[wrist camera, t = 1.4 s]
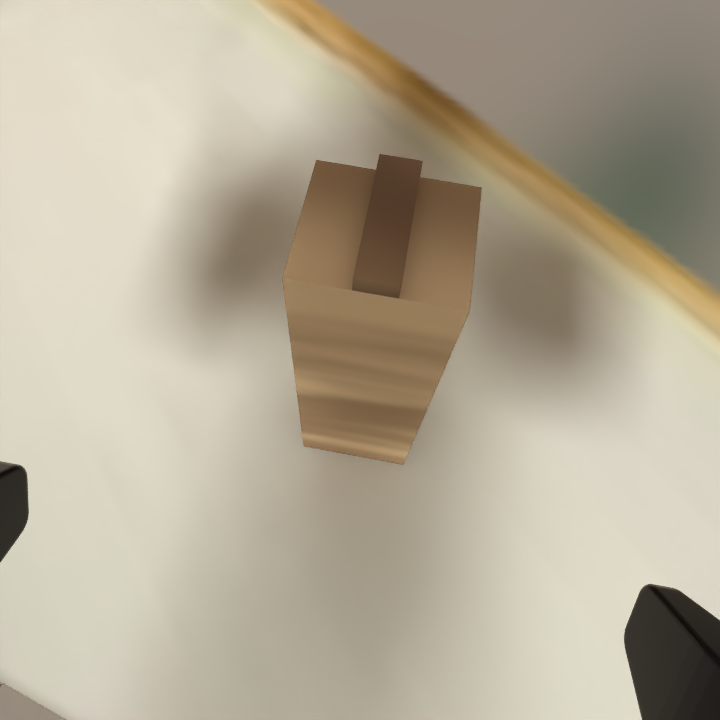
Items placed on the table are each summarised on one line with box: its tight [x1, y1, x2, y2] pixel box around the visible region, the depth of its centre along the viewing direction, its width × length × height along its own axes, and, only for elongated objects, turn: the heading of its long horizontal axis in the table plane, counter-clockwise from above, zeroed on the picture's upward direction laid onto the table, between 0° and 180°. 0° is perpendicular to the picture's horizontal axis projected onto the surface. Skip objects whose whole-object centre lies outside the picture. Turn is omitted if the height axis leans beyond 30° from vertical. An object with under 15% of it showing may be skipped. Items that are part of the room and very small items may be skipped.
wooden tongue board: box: [282, 154, 482, 464], centre depth 17 cm, size 4×4×12 cm
